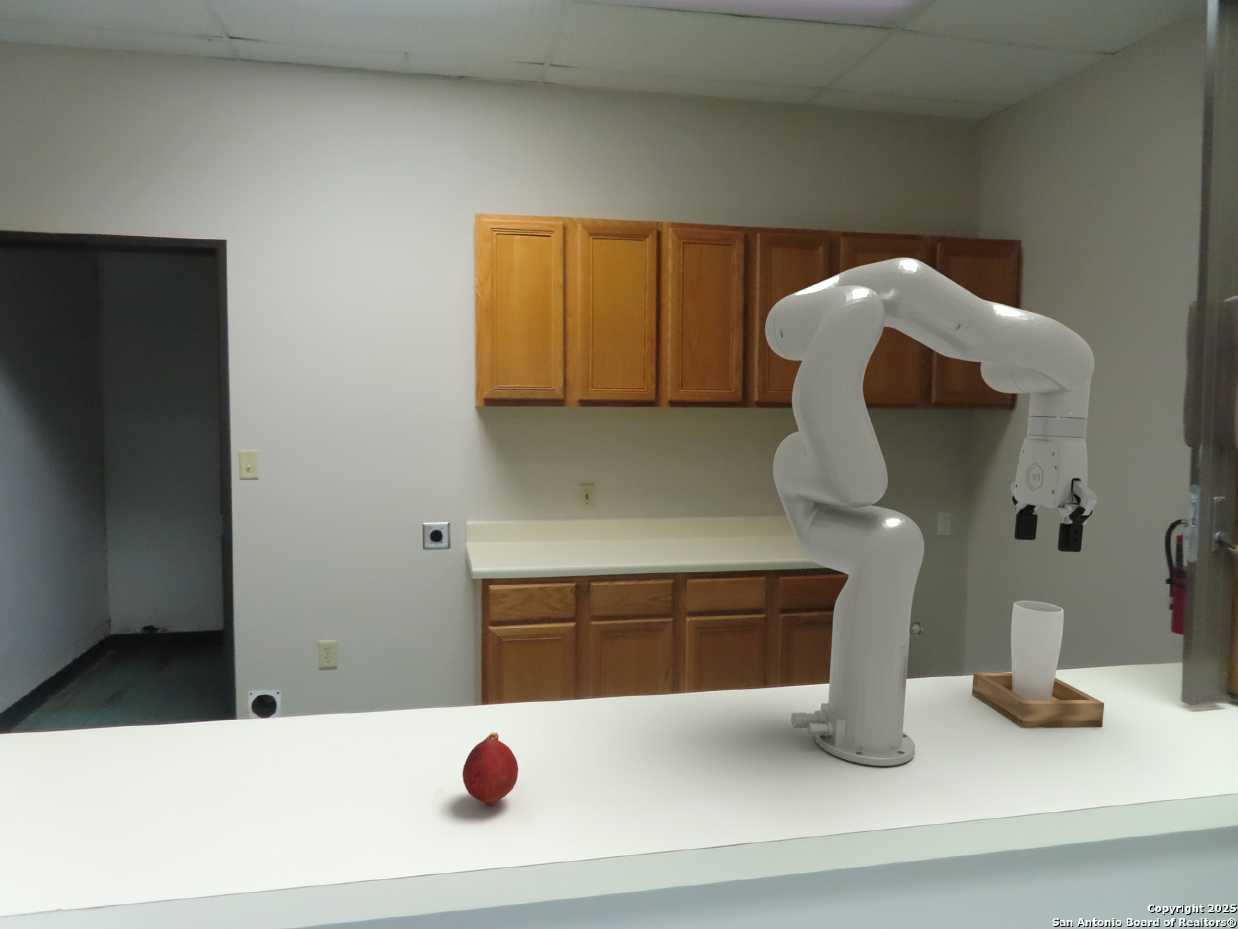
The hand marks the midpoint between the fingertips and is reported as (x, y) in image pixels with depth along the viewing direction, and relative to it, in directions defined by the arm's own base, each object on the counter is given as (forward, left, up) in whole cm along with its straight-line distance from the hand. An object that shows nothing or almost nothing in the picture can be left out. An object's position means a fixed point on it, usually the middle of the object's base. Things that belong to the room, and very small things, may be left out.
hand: (1046, 545), depth 112 cm
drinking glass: (0, 0, -24) cm, 24 cm away
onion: (-80, -24, -26) cm, 87 cm away
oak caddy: (0, 0, -25) cm, 25 cm away
